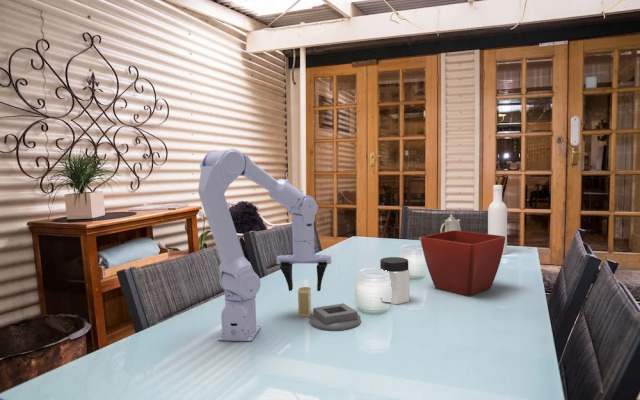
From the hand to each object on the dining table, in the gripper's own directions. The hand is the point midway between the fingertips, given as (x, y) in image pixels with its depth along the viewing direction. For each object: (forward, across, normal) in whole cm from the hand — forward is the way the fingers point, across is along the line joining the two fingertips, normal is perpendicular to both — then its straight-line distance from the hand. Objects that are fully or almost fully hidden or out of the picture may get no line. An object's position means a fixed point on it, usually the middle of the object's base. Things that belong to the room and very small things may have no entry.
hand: (304, 290), depth 119 cm
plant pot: (+7, -46, -27) cm, 54 cm away
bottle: (+7, -72, -84) cm, 111 cm away
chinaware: (+8, -53, -98) cm, 112 cm away
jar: (+7, -24, -14) cm, 29 cm away
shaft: (+7, 0, 0) cm, 7 cm away
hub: (+7, -8, +5) cm, 12 cm away
